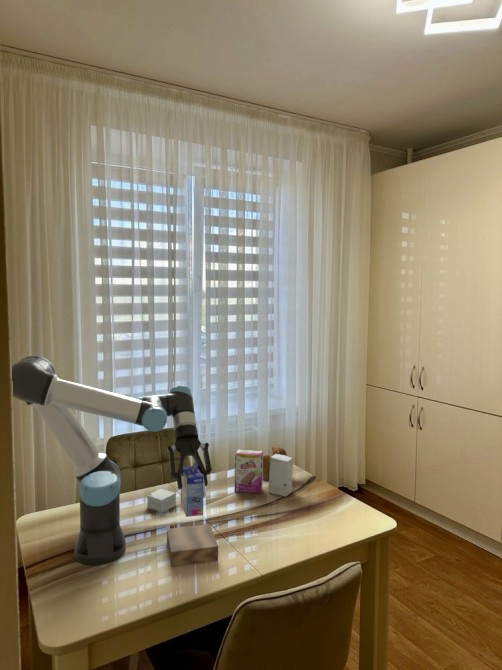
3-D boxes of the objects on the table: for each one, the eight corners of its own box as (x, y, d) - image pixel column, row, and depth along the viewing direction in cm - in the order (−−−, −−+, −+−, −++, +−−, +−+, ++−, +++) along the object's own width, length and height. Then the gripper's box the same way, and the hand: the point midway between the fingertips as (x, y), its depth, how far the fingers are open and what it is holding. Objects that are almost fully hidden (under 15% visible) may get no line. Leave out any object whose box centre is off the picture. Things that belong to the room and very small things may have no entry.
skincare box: (268, 493, 191) (268, 457, 189) (274, 487, 196) (274, 452, 195) (287, 497, 187) (287, 461, 186) (292, 491, 192) (293, 456, 191)
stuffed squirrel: (292, 480, 204) (293, 450, 203) (261, 483, 201) (261, 453, 199) (285, 471, 214) (285, 443, 213) (255, 474, 210) (255, 445, 209)
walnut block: (171, 568, 138) (171, 552, 138) (166, 543, 152) (166, 529, 151) (218, 562, 142) (218, 546, 142) (209, 538, 155) (209, 524, 155)
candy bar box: (234, 492, 191) (234, 453, 189) (235, 487, 195) (236, 449, 194) (261, 494, 189) (262, 454, 188) (262, 489, 194) (263, 450, 193)
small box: (176, 505, 178) (176, 492, 178) (162, 513, 172) (162, 500, 171) (161, 500, 183) (161, 487, 182) (146, 508, 176) (146, 494, 176)
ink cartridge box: (204, 515, 142) (204, 468, 141) (186, 518, 140) (185, 471, 139) (197, 501, 151) (197, 457, 150) (180, 504, 149) (179, 459, 148)
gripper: (210, 432, 161) (221, 498, 147) (156, 436, 156) (162, 505, 142) (214, 421, 156) (226, 489, 142) (158, 424, 150) (165, 496, 136)
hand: (194, 497), depth 142 cm, fingers closed on ink cartridge box, 5 cm apart
